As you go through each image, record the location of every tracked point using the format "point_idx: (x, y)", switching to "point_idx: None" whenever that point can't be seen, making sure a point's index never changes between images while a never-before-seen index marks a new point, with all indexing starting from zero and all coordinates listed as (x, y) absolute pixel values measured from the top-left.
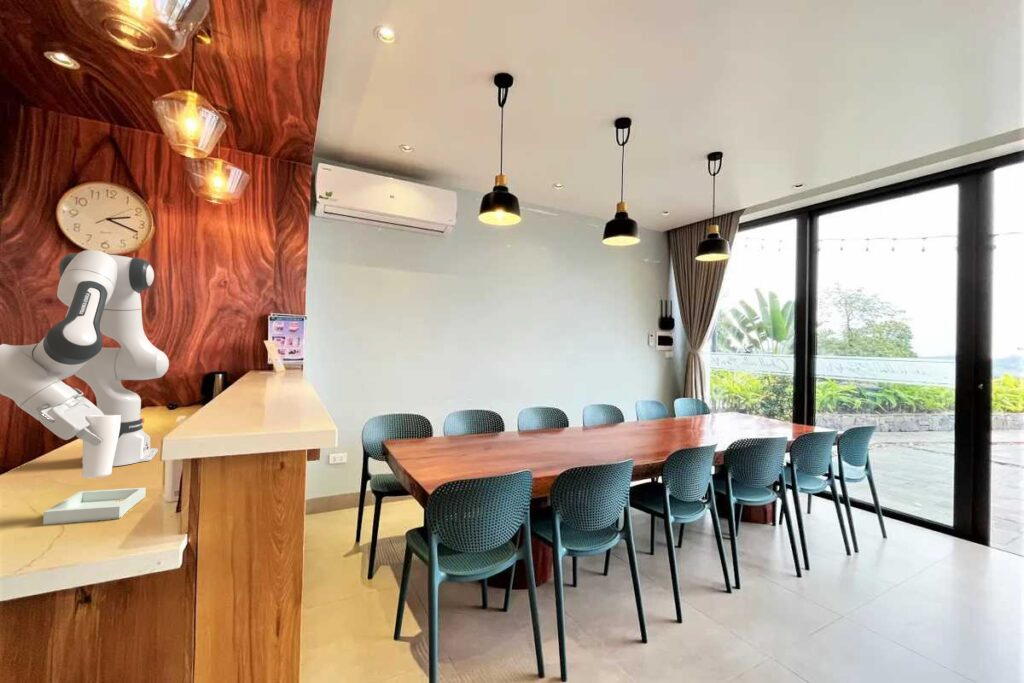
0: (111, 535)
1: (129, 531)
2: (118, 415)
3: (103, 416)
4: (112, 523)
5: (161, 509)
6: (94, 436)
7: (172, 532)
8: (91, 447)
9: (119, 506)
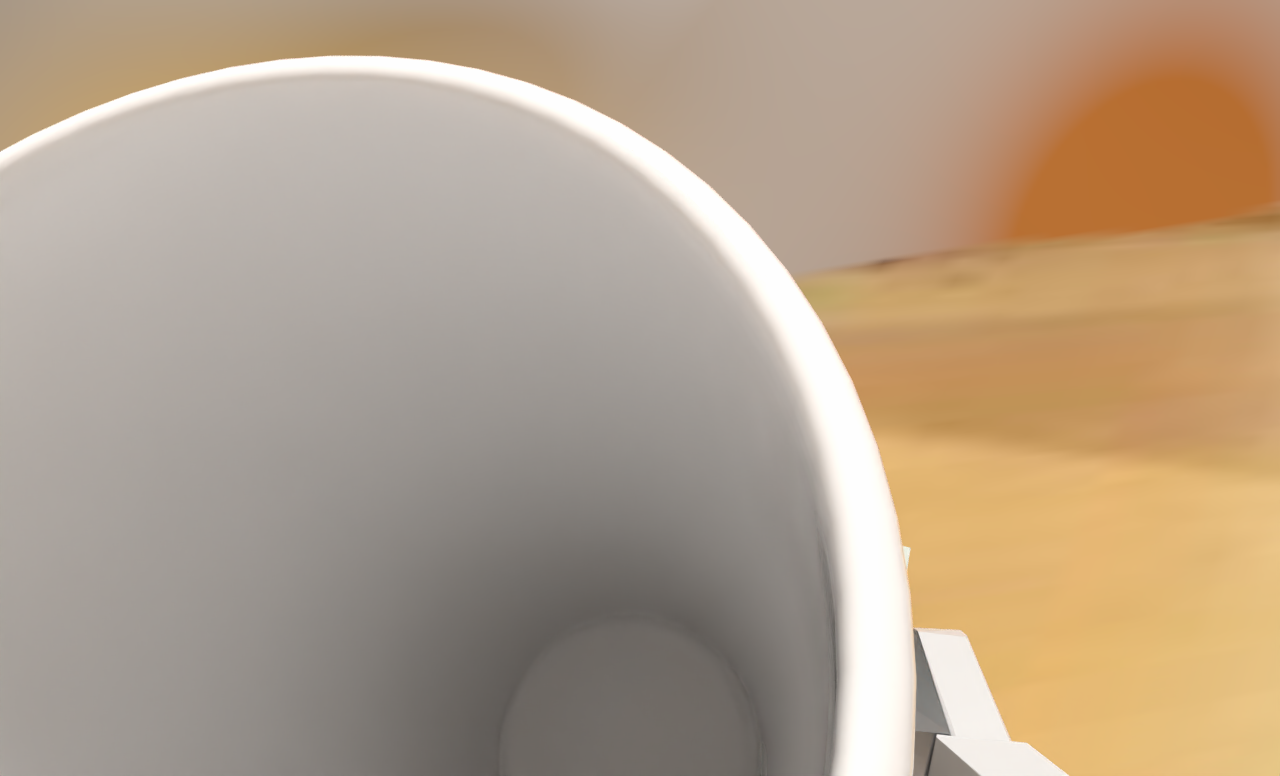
0: (1216, 566)
1: (1171, 475)
2: (464, 70)
3: (878, 479)
4: (966, 597)
5: None
6: (1033, 766)
7: (1262, 258)
8: None
9: (906, 549)
